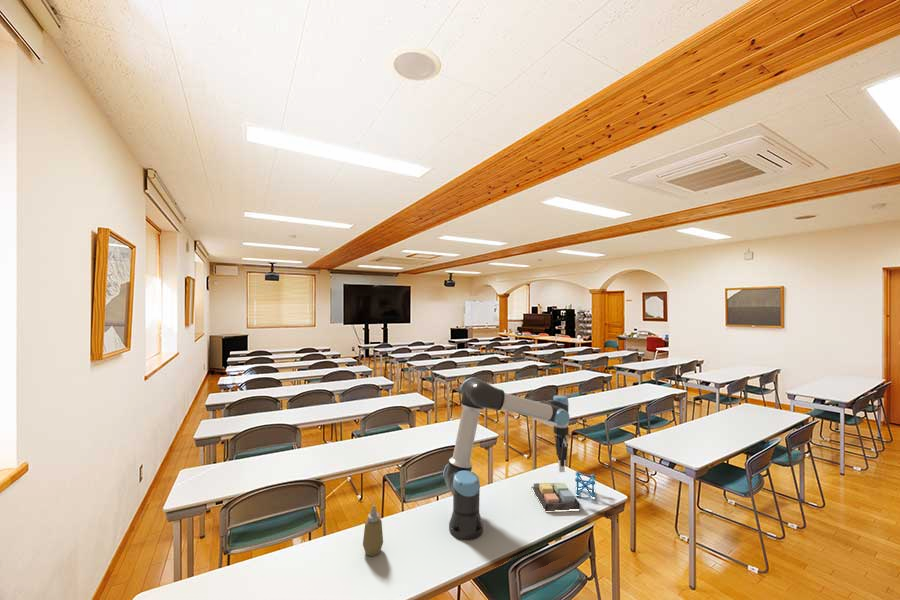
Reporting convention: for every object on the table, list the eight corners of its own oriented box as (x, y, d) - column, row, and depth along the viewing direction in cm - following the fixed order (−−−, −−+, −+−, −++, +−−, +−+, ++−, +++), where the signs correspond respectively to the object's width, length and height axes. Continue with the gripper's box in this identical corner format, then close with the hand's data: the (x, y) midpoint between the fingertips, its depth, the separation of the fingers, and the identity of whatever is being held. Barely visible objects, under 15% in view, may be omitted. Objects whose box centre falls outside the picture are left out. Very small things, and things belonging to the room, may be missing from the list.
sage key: (557, 494, 186) (557, 488, 186) (553, 489, 192) (553, 483, 192) (568, 494, 186) (568, 488, 187) (564, 488, 192) (564, 483, 192)
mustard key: (542, 494, 186) (542, 488, 186) (539, 489, 191) (539, 483, 191) (553, 494, 186) (553, 488, 186) (549, 489, 192) (549, 483, 192)
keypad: (545, 512, 176) (545, 504, 176) (531, 489, 199) (531, 482, 199) (579, 511, 177) (579, 503, 177) (562, 488, 200) (561, 481, 200)
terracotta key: (547, 505, 178) (547, 499, 178) (544, 499, 183) (544, 493, 183) (558, 505, 178) (558, 499, 178) (554, 499, 184) (554, 493, 184)
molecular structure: (595, 492, 196) (595, 473, 197) (595, 501, 187) (595, 481, 187) (575, 489, 200) (575, 470, 200) (574, 497, 191) (574, 478, 191)
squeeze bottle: (360, 548, 148) (361, 503, 148) (380, 543, 151) (381, 499, 151) (364, 560, 140) (365, 513, 141) (385, 555, 143) (385, 508, 144)
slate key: (563, 502, 178) (563, 496, 178) (559, 496, 184) (559, 490, 184) (574, 502, 179) (574, 495, 179) (570, 496, 184) (570, 490, 184)
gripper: (573, 429, 184) (573, 477, 183) (563, 422, 197) (563, 466, 196) (558, 430, 184) (559, 477, 183) (549, 422, 197) (550, 466, 196)
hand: (561, 471), depth 190 cm, fingers closed
